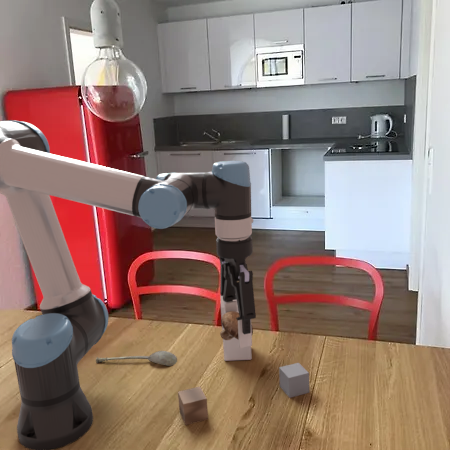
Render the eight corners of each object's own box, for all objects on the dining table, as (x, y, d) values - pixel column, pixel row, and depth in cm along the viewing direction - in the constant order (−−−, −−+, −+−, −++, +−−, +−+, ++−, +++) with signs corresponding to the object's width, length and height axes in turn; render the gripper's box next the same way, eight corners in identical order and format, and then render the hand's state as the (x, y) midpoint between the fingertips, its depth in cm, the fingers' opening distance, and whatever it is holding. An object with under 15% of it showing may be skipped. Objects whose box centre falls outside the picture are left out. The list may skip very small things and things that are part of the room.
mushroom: (206, 328, 104) (222, 305, 104) (223, 327, 111) (238, 305, 111) (232, 353, 101) (249, 330, 100) (247, 351, 108) (264, 329, 107)
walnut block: (185, 425, 101) (183, 404, 100) (179, 412, 106) (177, 391, 105) (208, 419, 103) (206, 398, 102) (201, 406, 108) (200, 386, 106)
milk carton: (251, 360, 126) (248, 291, 121) (224, 361, 126) (219, 292, 122) (250, 347, 133) (247, 281, 128) (224, 348, 133) (220, 282, 129)
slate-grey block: (289, 398, 109) (288, 378, 108) (279, 386, 113) (279, 367, 112) (309, 392, 110) (308, 372, 109) (299, 381, 115) (298, 362, 114)
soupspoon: (175, 371, 125) (180, 359, 131) (175, 359, 124) (179, 348, 131) (92, 369, 127) (101, 357, 133) (91, 357, 126) (100, 346, 133)
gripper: (271, 246, 92) (273, 355, 98) (234, 223, 112) (237, 315, 117) (234, 251, 90) (238, 363, 95) (202, 227, 109) (207, 321, 115)
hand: (238, 337), depth 106 cm, fingers closed on mushroom, 8 cm apart
